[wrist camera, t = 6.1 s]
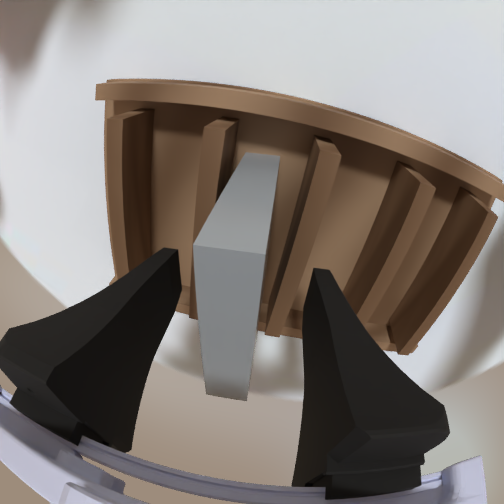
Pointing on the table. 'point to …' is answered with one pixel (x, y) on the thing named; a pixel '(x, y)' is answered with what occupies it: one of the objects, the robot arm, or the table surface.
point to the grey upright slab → (234, 274)
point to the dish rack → (297, 199)
